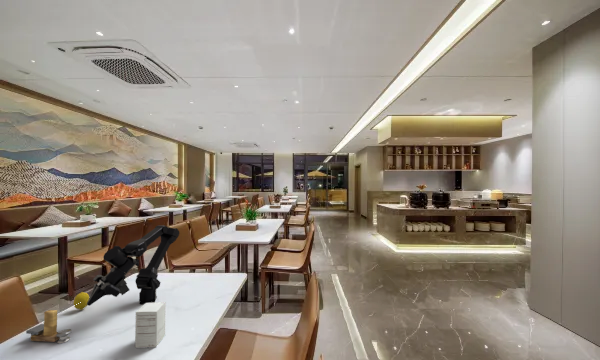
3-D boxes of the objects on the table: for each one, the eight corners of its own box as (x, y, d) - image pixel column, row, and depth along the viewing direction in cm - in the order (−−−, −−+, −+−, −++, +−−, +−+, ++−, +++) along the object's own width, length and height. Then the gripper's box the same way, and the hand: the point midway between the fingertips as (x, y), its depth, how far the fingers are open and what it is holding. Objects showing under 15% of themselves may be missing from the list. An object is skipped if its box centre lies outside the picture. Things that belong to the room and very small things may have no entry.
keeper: (52, 334, 95) (52, 325, 96) (37, 342, 91) (38, 331, 91) (40, 333, 96) (41, 323, 96) (25, 341, 92) (26, 330, 92)
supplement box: (145, 336, 95) (146, 302, 95) (165, 335, 96) (166, 301, 96) (134, 348, 88) (134, 311, 88) (156, 347, 88) (157, 311, 89)
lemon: (80, 313, 112) (80, 295, 112) (69, 312, 113) (70, 294, 113) (92, 307, 117) (93, 290, 117) (82, 306, 118) (83, 289, 118)
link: (63, 336, 94) (64, 309, 94) (54, 342, 91) (55, 313, 91) (40, 335, 94) (41, 308, 95) (30, 340, 91) (31, 312, 91)
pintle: (73, 336, 95) (73, 328, 95) (68, 342, 91) (68, 334, 91) (59, 338, 93) (59, 330, 93) (53, 345, 89) (53, 336, 90)
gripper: (142, 284, 108) (111, 321, 99) (129, 275, 120) (100, 307, 112) (121, 270, 102) (85, 308, 94) (108, 262, 114) (76, 295, 106)
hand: (87, 305), depth 101 cm, fingers closed
